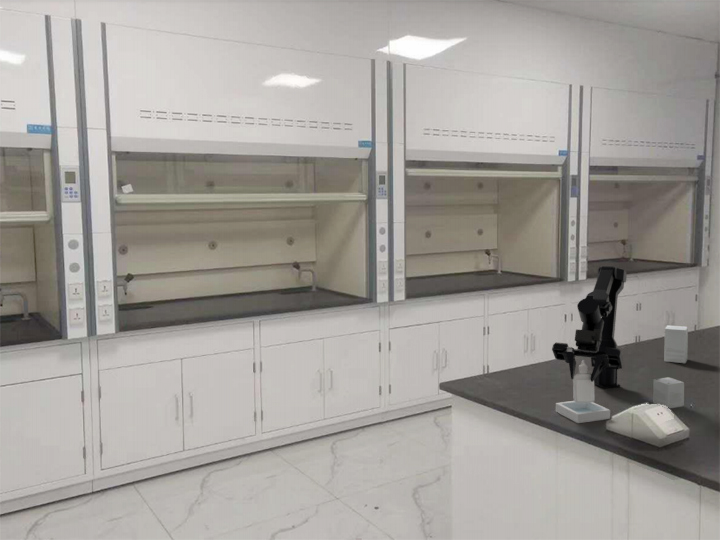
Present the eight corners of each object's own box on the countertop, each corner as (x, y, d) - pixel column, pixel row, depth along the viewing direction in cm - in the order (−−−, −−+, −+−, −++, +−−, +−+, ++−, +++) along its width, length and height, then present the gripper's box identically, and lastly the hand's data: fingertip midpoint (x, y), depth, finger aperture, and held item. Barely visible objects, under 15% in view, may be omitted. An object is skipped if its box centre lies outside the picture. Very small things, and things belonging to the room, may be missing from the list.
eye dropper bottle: (593, 404, 178) (592, 363, 176) (572, 403, 180) (571, 362, 179) (595, 400, 182) (594, 359, 180) (574, 398, 184) (573, 358, 183)
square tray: (586, 407, 188) (586, 399, 188) (609, 418, 178) (610, 410, 178) (555, 411, 185) (555, 403, 185) (577, 423, 175) (577, 414, 175)
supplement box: (687, 359, 239) (688, 326, 238) (685, 363, 233) (686, 330, 232) (666, 357, 243) (667, 324, 242) (663, 361, 237) (664, 328, 235)
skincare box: (684, 406, 186) (685, 382, 186) (667, 409, 185) (668, 384, 184) (668, 400, 192) (669, 376, 191) (652, 402, 191) (652, 378, 190)
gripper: (554, 315, 187) (542, 361, 179) (621, 320, 177) (612, 369, 169) (561, 336, 194) (550, 380, 186) (626, 342, 184) (618, 389, 176)
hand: (581, 379), depth 179 cm, fingers closed on eye dropper bottle, 5 cm apart
